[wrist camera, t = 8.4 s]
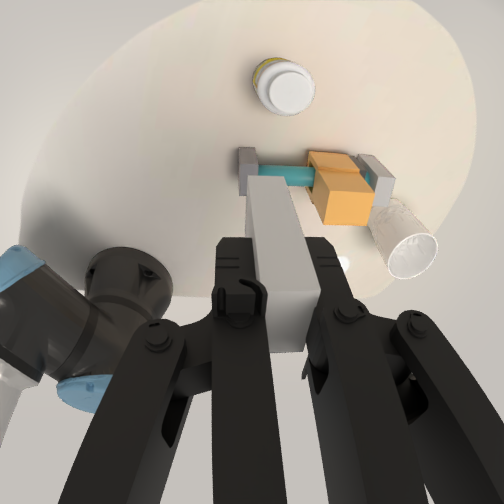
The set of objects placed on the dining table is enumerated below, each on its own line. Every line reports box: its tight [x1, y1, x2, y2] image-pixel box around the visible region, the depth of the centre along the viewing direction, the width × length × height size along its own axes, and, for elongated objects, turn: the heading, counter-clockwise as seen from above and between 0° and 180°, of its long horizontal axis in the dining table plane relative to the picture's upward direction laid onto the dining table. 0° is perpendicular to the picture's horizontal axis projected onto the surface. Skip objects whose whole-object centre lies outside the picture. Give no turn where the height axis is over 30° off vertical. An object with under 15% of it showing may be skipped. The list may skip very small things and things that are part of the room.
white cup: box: [367, 198, 438, 279], centre depth 43 cm, size 8×8×10 cm
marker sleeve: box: [305, 151, 375, 226], centre depth 36 cm, size 5×5×10 cm
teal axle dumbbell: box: [238, 147, 396, 207], centre depth 38 cm, size 18×5×7 cm, turn 88°
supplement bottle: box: [253, 58, 315, 116], centre depth 29 cm, size 6×6×10 cm
